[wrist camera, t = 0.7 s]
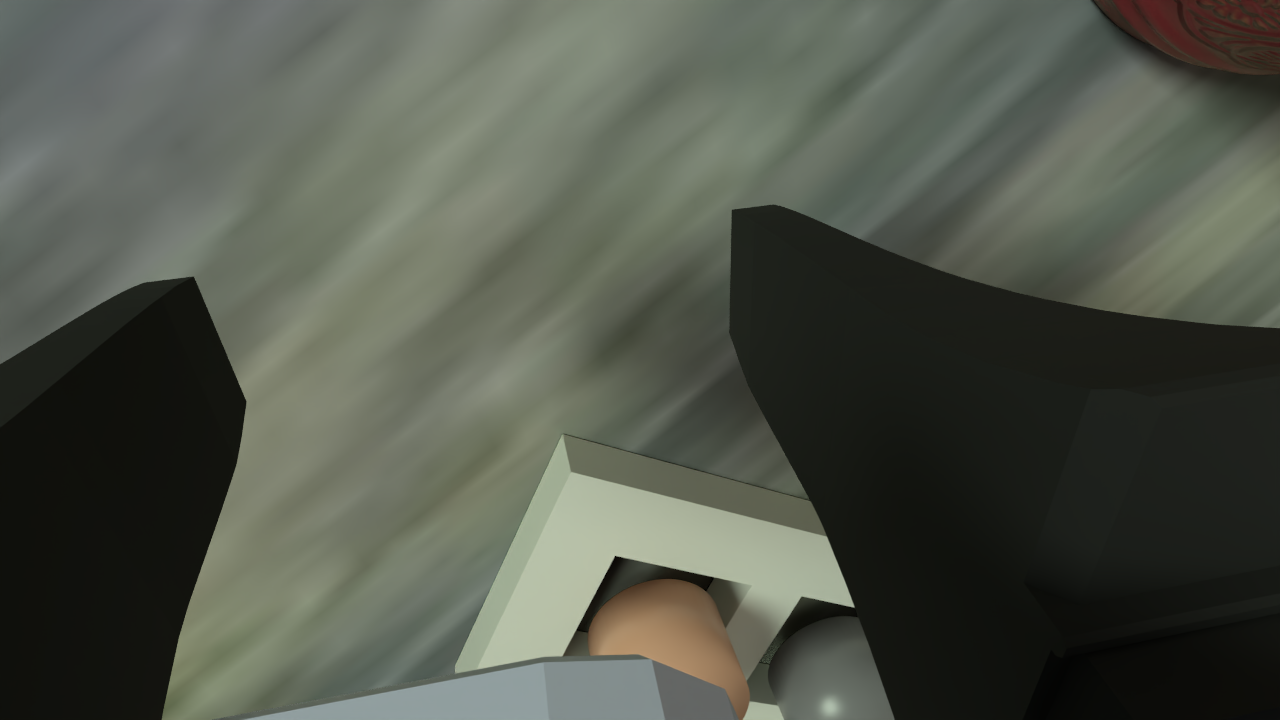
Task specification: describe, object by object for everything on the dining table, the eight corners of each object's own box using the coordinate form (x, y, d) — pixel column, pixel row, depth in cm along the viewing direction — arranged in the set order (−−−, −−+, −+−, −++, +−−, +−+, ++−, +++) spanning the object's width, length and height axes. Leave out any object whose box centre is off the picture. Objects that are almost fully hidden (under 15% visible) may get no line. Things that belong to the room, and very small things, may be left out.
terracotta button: (683, 686, 28) (709, 770, 25) (566, 668, 26) (580, 755, 23) (741, 592, 26) (775, 670, 23) (620, 567, 24) (642, 647, 22)
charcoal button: (844, 711, 30) (884, 789, 27) (746, 696, 28) (778, 778, 26) (905, 627, 29) (954, 701, 26) (805, 606, 27) (846, 682, 24)
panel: (964, 742, 36) (990, 782, 35) (454, 666, 28) (455, 714, 26) (1097, 578, 33) (1133, 614, 31) (562, 434, 24) (570, 471, 23)
